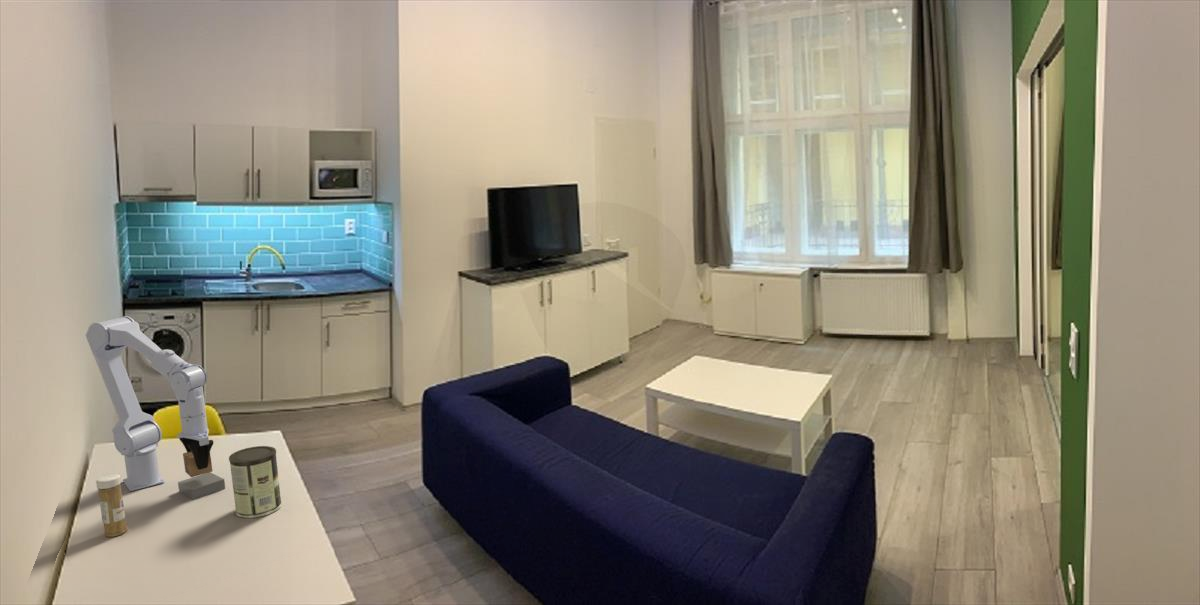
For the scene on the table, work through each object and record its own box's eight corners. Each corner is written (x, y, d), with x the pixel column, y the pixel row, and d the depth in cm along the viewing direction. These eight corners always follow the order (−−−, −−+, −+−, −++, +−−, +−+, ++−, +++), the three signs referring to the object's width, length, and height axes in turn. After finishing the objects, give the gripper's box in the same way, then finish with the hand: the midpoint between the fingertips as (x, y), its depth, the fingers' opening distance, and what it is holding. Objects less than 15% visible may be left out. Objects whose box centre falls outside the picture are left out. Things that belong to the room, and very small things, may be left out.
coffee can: (257, 497, 190) (251, 443, 188) (291, 502, 187) (285, 448, 184) (225, 515, 181) (218, 459, 178) (259, 521, 177) (253, 463, 175)
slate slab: (179, 493, 195) (177, 482, 194) (211, 482, 201) (209, 472, 201) (193, 500, 190) (191, 489, 190) (225, 490, 196) (224, 479, 196)
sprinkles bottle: (128, 533, 172) (120, 477, 170) (104, 539, 170) (95, 482, 168) (127, 526, 176) (119, 471, 174) (103, 531, 174) (95, 476, 171)
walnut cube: (185, 472, 195) (182, 453, 194) (206, 466, 198) (203, 448, 197) (191, 477, 191) (188, 458, 190) (212, 471, 194) (210, 452, 193)
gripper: (167, 411, 194) (174, 462, 197) (184, 424, 184) (190, 477, 186) (197, 405, 199) (203, 454, 202) (215, 417, 189) (221, 469, 191)
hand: (199, 465), depth 194 cm, fingers closed on walnut cube, 5 cm apart
